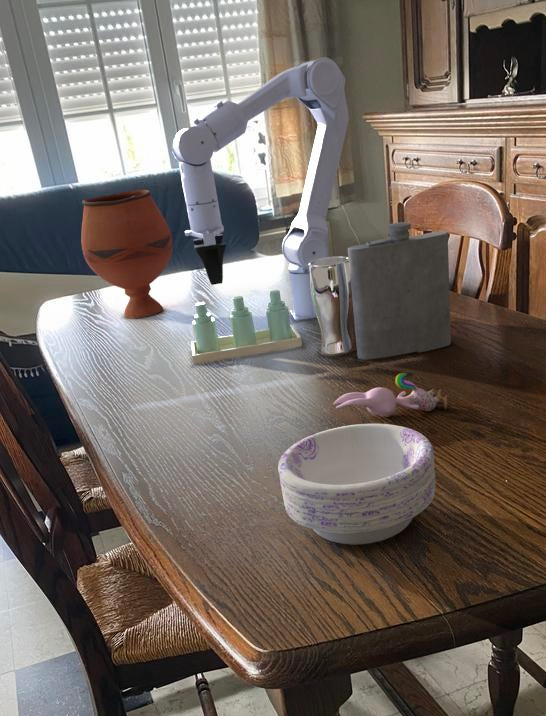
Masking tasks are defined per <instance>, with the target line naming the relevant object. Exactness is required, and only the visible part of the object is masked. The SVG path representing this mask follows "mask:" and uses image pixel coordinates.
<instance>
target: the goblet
mask: <svg viewBox="0 0 546 716" xmlns="http://www.w3.org/2000/svg"><path fill="white" fill-rule="evenodd" d="M82 205H83V211H82V212H83V213H82V222H81V236H80V237H81V238H80V239H81V240H80V242H81V243H80V244H81V250H82V254H83V258H84V261H85V262H86V264H87V266H88V267H89V268H90V269H91V270H92V271H93V273H95V274H96V275H97V276H98V277H99V278H100V279H102V280H103V281H105V282H106V283H109V284H111V285H112V286H115V287H117V288H119V289H123V290H124V294H125V295H126V296H128V297H129V300H128V303H127V304H126V307H125V309H124V312H123V316H124V318H127V319H139V318H140V319H142V318H147V317H150V316H154V315H157V314H159V313H160V312H162V311H164V307H163V306H162V305H161V303H160V302H159V301H158V300H156V299H155V298H154V297H152V296H151V295H150V292H151V290H152V288H151V284H152V283H153V282H154V281H156V280H157V279H158V277H160V276H161V274H162V273H163V272H164V270H165V269H166V267H167V265H168V264H169V261H170V259H171V256H172V252H173V238H172V233H171V230H170V227H169V226H168V223H167V221H166V219H165V217H164V216H163V214H162V212H161V211H160V209H159V207H158V206H157V204H156V202H155V201H154V199H153V198H152V193H151V191H150V190H148V189H135V190H131V191H125V192H117V193H113V194H105V195H103V196H102V195H101V196H97V197H93V198H88V199H83V200H82Z"/></svg>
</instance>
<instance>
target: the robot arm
mask: <svg viewBox="0 0 546 716" xmlns="http://www.w3.org/2000/svg"><path fill="white" fill-rule="evenodd" d="M345 86H346V77H345V75H344V74H343V73H342V71H341V69H340V67H339V66H338V64H337V63H336V61H334V60H332V59H331V58H329V57H325V56H324V57H318V58H317V59H315V60H311V61H310V60H309V61H302V62H300V63H297V64H296V65H295V66H294V67H290V68H288V69H285V70H284V71H281V72H280V73H278V74H276V75H275V76H273V77H272V78H271V79H270V80H268V81H266V82H265V83H264V84H263V85H261V86H260V87H258V88H257V89H256V90H254V91H253V92H252V93H251V94H249V95H247V96H246V97H245V98H244V99H242V100H241V101H239V102H238V103H236V102H233V101H231V100H226V101H224V102H223V101H222V100H220V101H217V102H216V103H214V104H213V107H214V109H213V110H211V111H210V112H207V114H205V115H203V116H202V117H201V118H197V117H196V118H194V119H192V120H191V124H192V126H190V127H186V128H182V129H181V130H179V131H178V132H177V133H176V134H175V137H174V138H173V142H172V148H171V151H172V154H173V156H174V158H175V159H176V160H177V161H178V165H179V169H180V170H179V171H180V178H181V184H182V189H183V194H184V200H185V205H186V211H187V216H188V221H189V227H190V229H187V230H185V231H184V235H185V237H189V236H191V237H194V239H192V240H193V244H195V245H194V246H193V247H194V251H195V252H196V254H197V255H198V257H199V259H200V260H201V262H202V264H203V266H204V269H205V272H206V275H207V279H208V281H209V284H210V285H211V286H213V285H221V284H223V282H224V281H223V279H224V266H223V265H224V256H225V250H226V247H227V244H226V242H223V239H224V235H223V232H224V230H225V228H224V227H225V226H224V225H223V223H222V217H221V211H220V205H219V199H218V193H217V187H216V182H215V175H214V172H213V167H212V161H211V159H212V157H213V155H214V153H217V152H219V151H220V150H222V149H223V148H225V147H226V146H228V145H229V144H230V143H232V142H233V141H235V140H236V139H239V138H240V137H241V136H242V135H244V134H245V133H246V131H247V128H248V127H247V126H248V122H249V121H251V120H252V119H254V118H256V117H257V116H258V115H261V114H262V113H263V112H265V111H266V110H268V109H270V108H271V107H273V106H274V105H276V104H278V103H280V102H282V100H284V99H297V100H298V101H299V102H301V104H303V105H304V106H305V107H306V108H307V109H309V111H310V113H311V115H312V116H313V119H314V120H315V121H316V123H317V128H316V133H315V137H314V142H313V146H312V150H311V155H310V160H309V164H308V168H307V173H306V178H305V183H304V187H303V191H302V196H301V200H300V205H299V209H298V213H297V215H296V216H295V217H294V219H293V220H292V222H291V225H290V229H289V231H288V233H287V234H286V235H285V236H284V238H283V240H282V243H281V251H282V255H283V257H284V258H285V259H286V261H287V262H288V263H289V265H288V273H289V275H288V276H289V283H290V291H291V297H292V298H291V299H292V305H293V309H290V310H289V313H290V314H291V316H292V317H293V319H294V321H301V320H308V319H314V318H317V315H316V312H315V308H314V304H313V300H312V295H311V287H310V267H309V263H310V262H311V261H313V260H316V259H320V258H325V257H329V245H328V239H329V238H328V237H329V234H330V233H329V229H328V224H327V221H326V219H327V215H328V211H329V207H330V203H331V198H332V193H333V189H334V185H335V180H336V177H337V172H338V169H339V164H340V159H341V155H342V151H343V147H344V143H345V139H346V134H347V131H348V126H349V120H350V115H349V109H348V104H347V103H348V102H347V99H346V98H347V97H346V92H345Z"/></svg>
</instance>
